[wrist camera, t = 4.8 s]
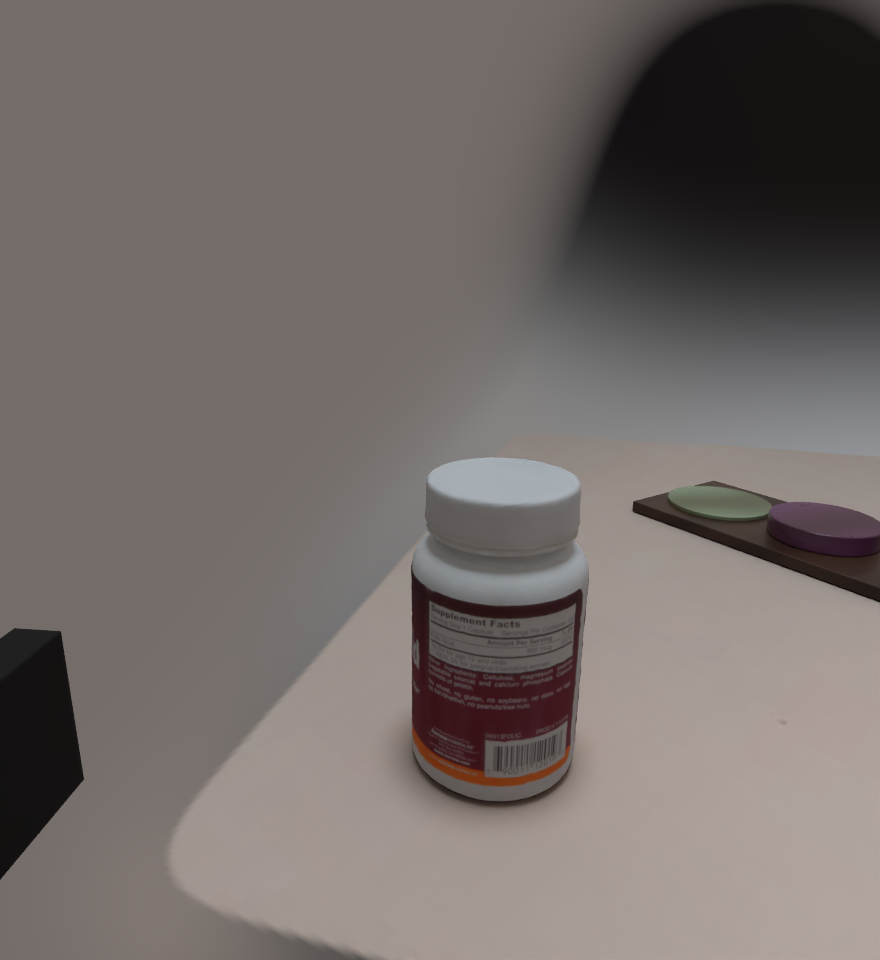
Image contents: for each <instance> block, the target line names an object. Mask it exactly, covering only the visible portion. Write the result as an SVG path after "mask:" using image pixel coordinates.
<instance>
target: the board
mask: <svg viewBox="0 0 880 960" xmlns="http://www.w3.org/2000/svg"><path fill="white" fill-rule="evenodd" d="M633 511H635V512H637V513H640V514H643V515H646V516H648V517H651V518H654V519H657V520H659V521H662V522H665V523H668V524H670V525H673V526H676V527H679V528H681V529H684V530H687V531H689V532H692V533H695V534H698V535H700V536H703V537H706V538H709V539H711V540H714V541H717V542H720V543H722V544H725V545H728V546H731V547H733V548H736V549H739V550H741V551H744V552H747V553H750V554H752V555H755V556H758V557H761V558H763V559H766V560H769V561H772V562H774V563H777V564H780V565H783V566H785V567H788V568H791V569H793V570H796V571H799V572H802V573H804V574H807V575H810V576H813V577H815V578H818V579H821V580H824V581H826V582H829V583H832V584H835V585H837V586H840V587H843V588H845V589H848V590H851V591H854V592H856V593H859V594H862V595H865V596H867V597H870V598H873V599H876V600H878V601H880V522H879V521H878V520H876V519H874V518H873V517H870V516H868V515H866V514H863V513H861V512H858V511H854V510H851V509H847V508H843V507H839V506H833V505H828V504H820V503H810V502H790V503H789V502H785V501H782V500H778V499H775V498H771V497H768V496H764V495H761V494H758V493H754V492H751V491H747V490H744V489H740V488H737V487H734V486H730V485H727V484H723V483H720V482H716V481H711V482H707V483H703V484H699V485H695V486H689V487H682V488H677V489H674V490H672V491H671V492H668V493H664V494H660V495H656V496H652V497H649V498H645V499H641V500H637V501H634V502H633Z"/></svg>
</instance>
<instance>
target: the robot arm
mask: <svg viewBox="0 0 880 960" xmlns="http://www.w3.org/2000/svg"><path fill="white" fill-rule="evenodd" d="M83 780H84V777H83V770H82V764H81V757H80V751H79V745H78V738H77V732H76V725H75V720H74V713H73V706H72V700H71V693H70V687H69V681H68V674H67V668H66V661H65V655H64V649H63V642H62V636H61V631H47V630H31V629H16V628H15V629H13V630H12V631H10V632H9V633H7V634H6V635H5V636H3V637H2V638H1V639H0V879H1V878H2V877H3V876H4V875H5V873H6V872H7V871H8V870H9V869H10V867H11V866H12V865H13V864H14V862H15V861H16V860H17V859H18V858H19V857H20V855H21V854H22V853H23V852H24V851H25V849H26V848H27V847H28V845H30V843H31V842H32V841H33V840H34V839H35V837H36V836H37V835H38V834H39V833H40V831H41V830H42V829H43V828H44V826H45V825H46V824H47V823H48V822H49V821H50V819H51V818H52V817H53V816H54V814H55V813H56V812H57V811H58V810H59V809H60V807H61V806H62V805H63V804H64V803H65V801H66V800H67V799H68V798H69V796H70V795H71V794H72V793H73V792H74V791H75V789H76V788H77V787H78V786H79V784H80V783H81V782H82V781H83Z"/></svg>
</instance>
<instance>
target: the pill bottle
mask: <svg viewBox="0 0 880 960" xmlns="http://www.w3.org/2000/svg"><path fill="white" fill-rule="evenodd" d="M580 500H581V484H580V481H579V479H578V478H577V477H576V476H575V475H574V474H572V473H571V472H569V471H567V470H564V469H563V468H560V467H556V466H553V465H550V464H546V463H542V462H538V461H531V460H526V459H516V458H474V459H466V460H460V461H455V462H451V463H447V464H444V465H442V466H439V467H438V468H436V469H434V470H433V471H432V472H431V473H430V474H429V476H428V478H427V483H426V510H425V517H426V521H427V529H428V531H429V534H428V535H427V536H425V537H424V538H423V539H422V540H421V542H420V543H419V545H418V546H417V548H416V550H415V553H414V556H413V561H412V565H411V576H412V745H413V751H414V754H415V756H416V758H417V760H418V762H419V764H420V766H421V767H422V769H423V770H424V771H425V772H426V773H427V774H428V775H429V776H430V777H432V778H433V779H434V780H435V781H437V782H438V783H440V784H442V785H443V786H445V787H447V788H449V789H451V790H453V791H455V792H457V793H460V794H462V795H465V796H468V797H472V798H475V799H480V800H486V801H512V800H519V799H524V798H528V797H531V796H534V795H536V794H539V793H541V792H543V791H545V790H547V789H549V788H550V787H551V786H553V785H554V784H555V783H557V782H558V781H559V780H560V778H561V777H562V776H563V775H564V774H565V772H566V771H567V769H568V767H569V765H570V763H571V760H572V757H573V750H574V742H575V729H576V720H577V707H578V698H579V683H580V675H581V658H582V647H583V632H584V624H585V615H586V604H587V593H588V583H589V567H588V562H587V559H586V556H585V554H584V552H583V551H582V549H581V548H580V547H579V545H578V544H577V543H576V542H575V541H574V539H575V538H576V537H577V535H578V527H579V524H580Z"/></svg>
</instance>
